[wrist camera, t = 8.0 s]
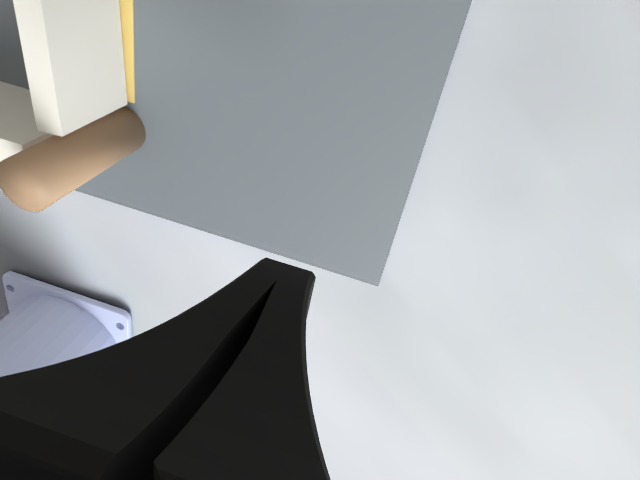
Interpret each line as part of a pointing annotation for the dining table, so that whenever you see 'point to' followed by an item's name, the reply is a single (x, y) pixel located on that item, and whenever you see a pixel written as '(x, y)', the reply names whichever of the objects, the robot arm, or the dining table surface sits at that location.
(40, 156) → the fixed fence panel
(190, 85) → the card
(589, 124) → the dining table surface
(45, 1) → the hinged fence panel
